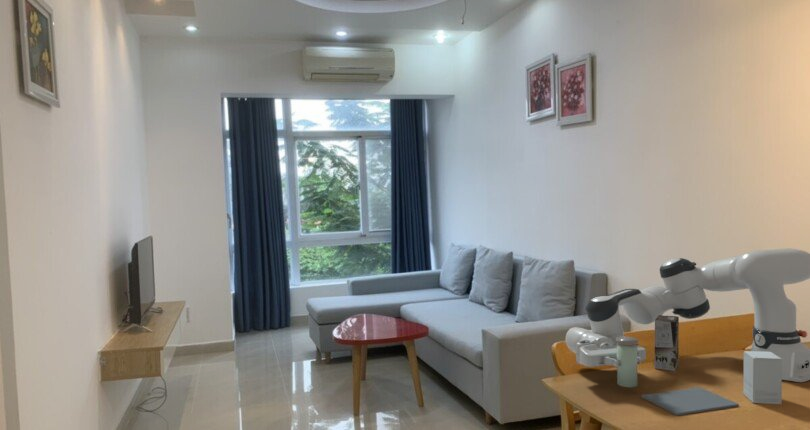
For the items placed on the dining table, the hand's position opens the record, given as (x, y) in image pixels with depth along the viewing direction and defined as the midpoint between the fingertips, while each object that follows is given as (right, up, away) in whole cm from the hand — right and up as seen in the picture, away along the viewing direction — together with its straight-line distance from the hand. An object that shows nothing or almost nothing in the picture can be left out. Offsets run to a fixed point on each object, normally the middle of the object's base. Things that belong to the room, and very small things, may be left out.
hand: (628, 362), depth 170 cm
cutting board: (+14, -9, -7) cm, 18 cm away
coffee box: (+22, -7, +24) cm, 33 cm away
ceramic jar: (0, -6, +1) cm, 7 cm away
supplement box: (+34, -9, -6) cm, 36 cm away
